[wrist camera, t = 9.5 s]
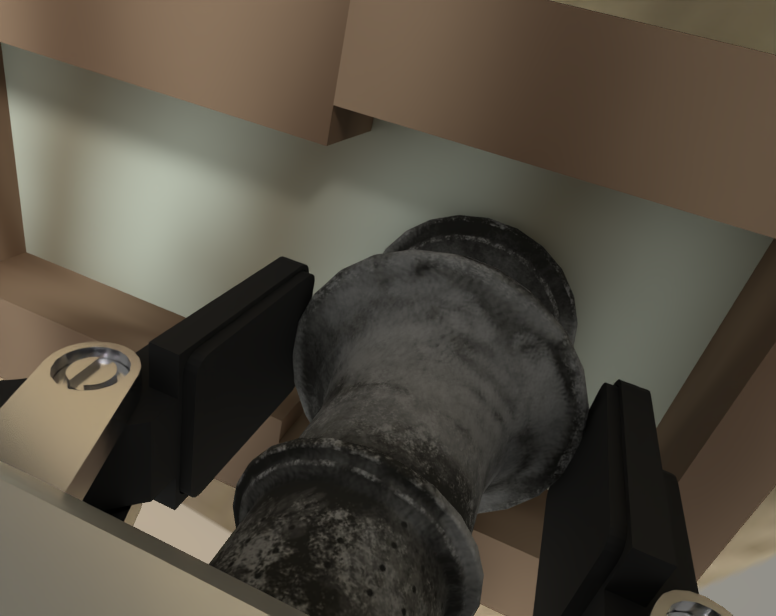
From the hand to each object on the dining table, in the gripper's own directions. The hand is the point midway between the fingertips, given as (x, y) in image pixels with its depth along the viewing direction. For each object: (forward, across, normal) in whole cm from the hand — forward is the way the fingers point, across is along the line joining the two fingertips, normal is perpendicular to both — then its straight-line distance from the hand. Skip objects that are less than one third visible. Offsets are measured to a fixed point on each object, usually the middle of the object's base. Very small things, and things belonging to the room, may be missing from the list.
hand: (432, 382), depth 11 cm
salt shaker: (+3, 0, 0) cm, 3 cm away
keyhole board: (+5, +5, 0) cm, 7 cm away
